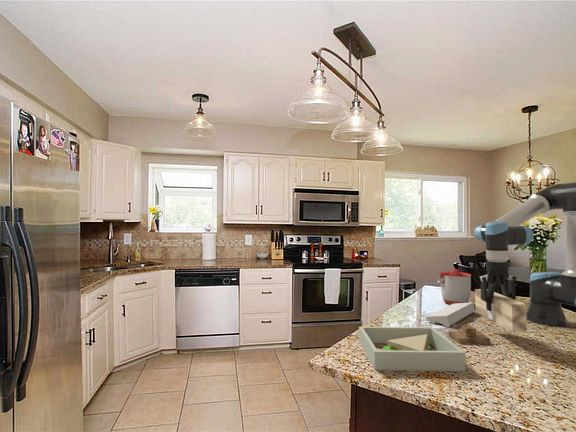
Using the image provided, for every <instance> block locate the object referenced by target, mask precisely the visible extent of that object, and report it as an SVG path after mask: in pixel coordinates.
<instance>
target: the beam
mask: <svg viewBox="0 0 576 432" xmlns="http://www.w3.org/2000/svg"><path fill="white" fill-rule="evenodd" d="M487 291H488V288H487ZM474 295H475V297H474V298H475V299H474V301H475V302H474V303H475V305H474V308H475V313H476V314H479V315H481V316H482V317H483V318H486V319H488V320H489V321H492V322H494V323H496V324H497V325H500V327H502V328H505V329H507V330H508V331H510V332H512V333H525V332H527V331H528V330H527V319H526V312H527V304H526V303H523V302H521V301H518V300H517V299H516V300H514V299H511V298H509V297H506V296H503V294H500V293H498V292H496V291H494V296H493V300H492V303H494V320H492V319H490V318H488V310H487V309H486V302H485V301H483V300H481V288H477V289H474Z"/></svg>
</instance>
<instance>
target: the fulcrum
mask: <svg viewBox="0 0 576 432" xmlns="http://www.w3.org/2000/svg"><path fill="white" fill-rule="evenodd" d="M448 337H449V338H451V339H452V340H453V341H454V342H456V343H457V344H459V343H467V344H466V345H468V344H471V345H472V344H474V345H475V344H476V345H477V344H479V345H490V344H491V338H490V337H488V336H486V335H485V334H483V333H481V332H480V331H477V328H476V327H474V326H472V325H461V327H460V331H459V330H448Z"/></svg>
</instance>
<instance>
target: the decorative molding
mask: <svg viewBox="0 0 576 432" xmlns="http://www.w3.org/2000/svg"><path fill="white" fill-rule="evenodd" d="M473 313H476V308H475V305H474V302H473V301H472V302H470V301H469V302H468V303H455V304H451V305H450V304H448V306H445V307H444V308H441V309H439V310H436V311H435V312H433V313H431V314H429V315H426V316H425V318H426V321H427V322H431V324H433V325H434V324H441V325H443V326H445V327H447V328H449V327H450V326H453V325H455V324H456V323H458V322H459V321H461V320H463V319H464V318H466V317H468V316H469V315H471V314H473Z"/></svg>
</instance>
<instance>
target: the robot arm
mask: <svg viewBox="0 0 576 432" xmlns="http://www.w3.org/2000/svg"><path fill="white" fill-rule="evenodd" d="M553 210H562V213H563V214H564V215H565V216H566V218H567V219H566V243H565V244H566V251H565V254H566V255H565V270H564V271H563V272H561V273H560V272H555V271H554V272H552V271H550V272H548V271H546V272H543V271H542V272H532V273H531V274H530V276H529V304H528V307H527V308H526V321H530V322H531V323H535V324H540V325H544V326H545V325H546V326H552V327H565V326H568V325H567V321H568V320H567V318H566V315H565V311H564V309H563V307H562V304H564V305H568V306H569V305H570V306H573V307H576V182H565V183H556V184H553V185H550V186H547V187H545V188H543V189H541V190H538V191H537V192H535V193H533V194H531V195H530V196H528V198H527V200H526V201H524V202H523V203H521V204H520V205H518V206H516V207H515V208H513V209H511V210H509V211H508V212H507V213H505V214H503V215H502V216H500V217H498V218H497V219H495V220H493V221H492V222H487V223H486V224H484V225H482V224H481V225H478V226H476V227H475V229H474V231H473V233H474V234H473V235H474V238H475V240H477V241H478V242H482V243H485V258H486V259H485V260H486V261H485V262H486V263H485V264H486V265H485V267H486V273H485V275H480V276H479V277H478V279H479V281H480V289H481V300H483V301H485V302H486V309H487V310H488V318H490V319H492V320H494V303H492V300H493V296H494V292H496V287H497V286H498V285H499V287H500V289H501V293H502V294H501V295H503V296H506V297H509V298H511V299H514V300H516V301H517V298H516V297H517V295H516V281H517V276H515V275H512V274H510V273H509V270H510V268H509V267H510V266H509V262H508V261H509V260H510V259H509V246H517V245H519V246H520V245H521V246H523V245H527V244H530V243H531V242H532V241H533V240H534V236H535V235H534V232H533V230H532V229H531V227H529V226H525V225H524V226H523V224H525V223H526V222H528V221H530V220H531V219H533V218H535V217H536V216H538V215H540V214H545V213H547V212H548V211H553ZM487 289H488V291H487ZM488 318H487V319H488ZM490 319H489V320H490Z"/></svg>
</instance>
